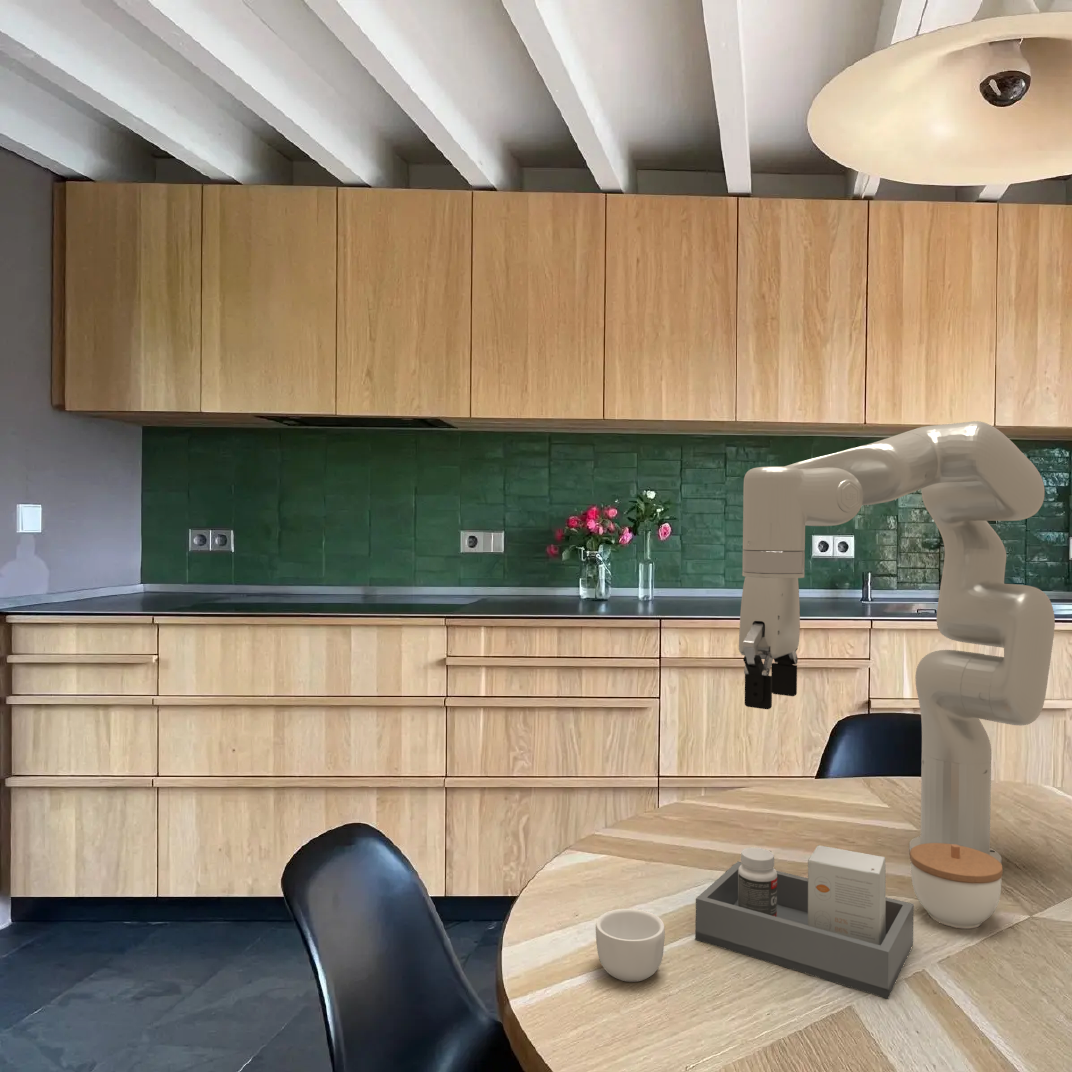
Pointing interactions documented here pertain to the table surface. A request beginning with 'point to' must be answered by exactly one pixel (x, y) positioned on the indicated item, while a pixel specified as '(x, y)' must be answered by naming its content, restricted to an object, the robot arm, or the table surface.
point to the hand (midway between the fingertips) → (771, 700)
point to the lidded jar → (956, 883)
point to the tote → (803, 935)
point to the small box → (847, 893)
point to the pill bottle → (757, 881)
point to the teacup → (630, 943)
